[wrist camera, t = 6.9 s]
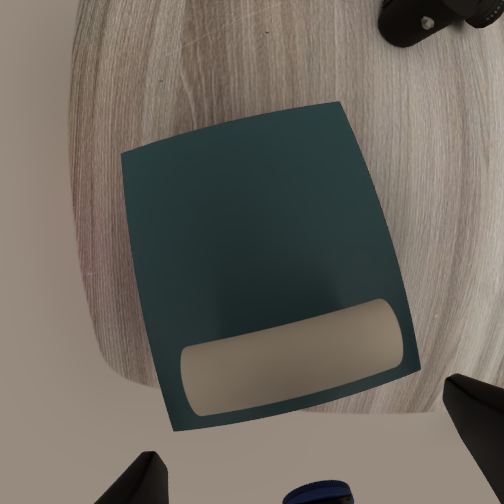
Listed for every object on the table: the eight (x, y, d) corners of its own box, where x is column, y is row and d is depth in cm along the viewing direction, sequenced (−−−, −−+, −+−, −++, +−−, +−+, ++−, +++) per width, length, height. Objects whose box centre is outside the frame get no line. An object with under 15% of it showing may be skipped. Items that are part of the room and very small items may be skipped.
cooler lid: (415, 367, 11) (489, 393, 6) (177, 427, 11) (127, 485, 6) (337, 108, 13) (361, 27, 8) (125, 159, 13) (69, 96, 8)
